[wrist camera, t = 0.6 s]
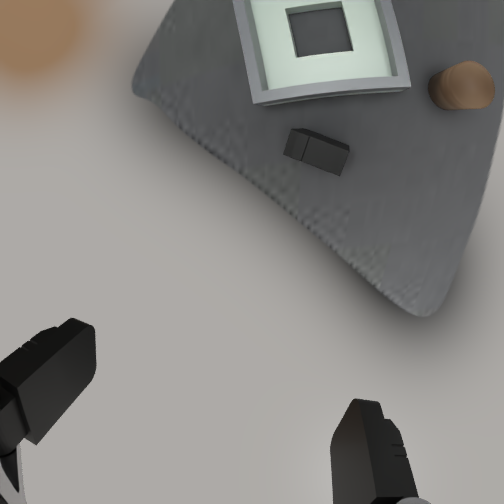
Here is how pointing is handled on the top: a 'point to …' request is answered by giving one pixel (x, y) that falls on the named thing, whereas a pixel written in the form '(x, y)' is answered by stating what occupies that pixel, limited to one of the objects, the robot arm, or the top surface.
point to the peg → (462, 87)
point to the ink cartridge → (317, 150)
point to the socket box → (324, 65)
